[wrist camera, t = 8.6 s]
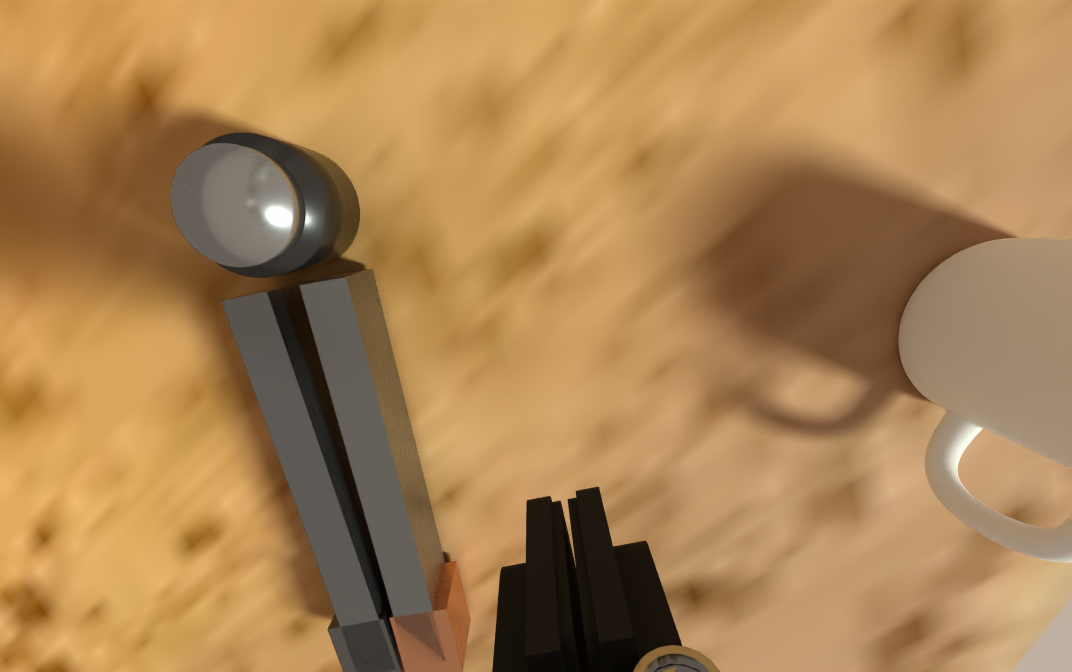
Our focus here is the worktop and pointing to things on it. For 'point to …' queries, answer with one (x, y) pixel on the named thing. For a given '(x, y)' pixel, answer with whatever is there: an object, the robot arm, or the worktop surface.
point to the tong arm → (340, 387)
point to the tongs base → (314, 409)
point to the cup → (996, 370)
